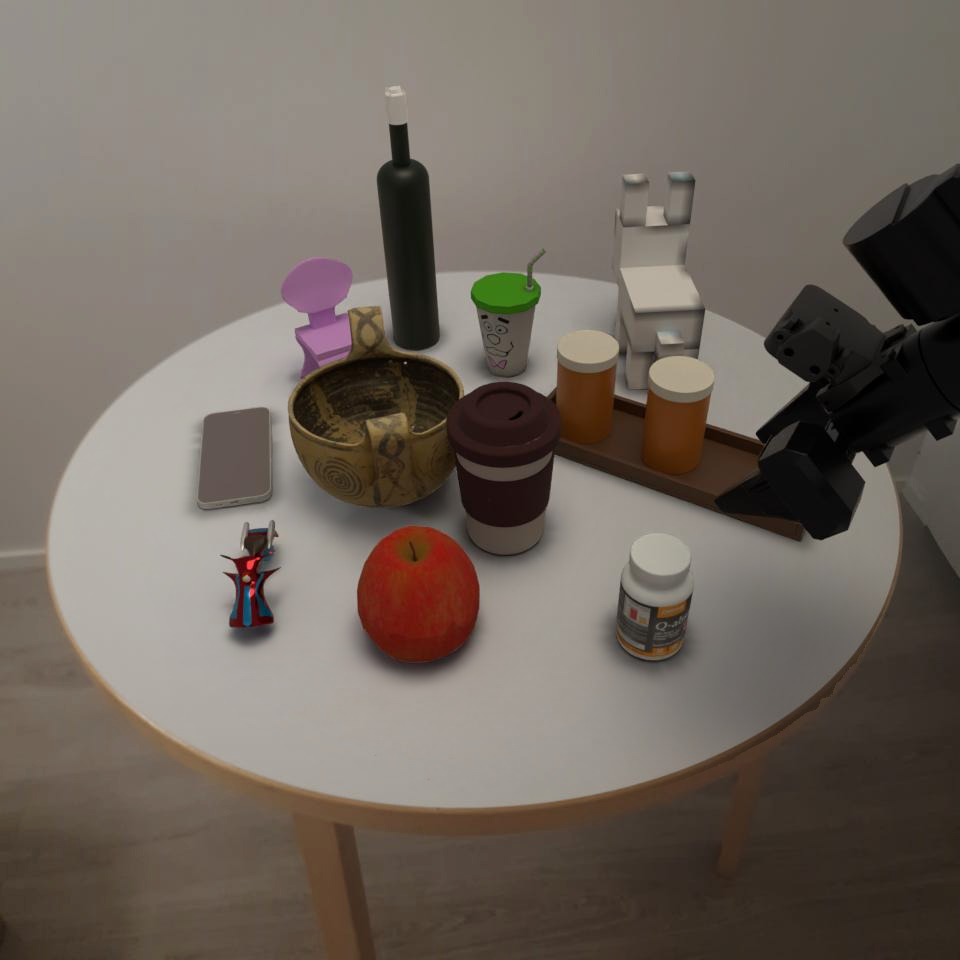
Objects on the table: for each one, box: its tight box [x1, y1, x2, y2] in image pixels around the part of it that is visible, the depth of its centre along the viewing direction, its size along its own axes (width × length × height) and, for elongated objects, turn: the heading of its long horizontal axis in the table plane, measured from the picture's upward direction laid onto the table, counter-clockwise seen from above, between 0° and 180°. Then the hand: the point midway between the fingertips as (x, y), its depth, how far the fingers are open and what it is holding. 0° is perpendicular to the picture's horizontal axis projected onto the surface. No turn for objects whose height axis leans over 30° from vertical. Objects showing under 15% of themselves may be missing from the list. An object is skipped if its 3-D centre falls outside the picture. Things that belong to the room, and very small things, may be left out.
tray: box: [546, 386, 807, 542], centre depth 93 cm, size 30×10×2 cm, turn 58°
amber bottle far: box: [556, 329, 620, 444], centre depth 95 cm, size 6×6×10 cm
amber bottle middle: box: [641, 356, 716, 474], centre depth 90 cm, size 6×6×10 cm
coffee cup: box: [446, 381, 561, 556], centre depth 82 cm, size 10×10×15 cm
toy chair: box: [280, 256, 354, 378], centre depth 101 cm, size 8×9×15 cm
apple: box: [356, 524, 481, 664], centre depth 75 cm, size 10×10×10 cm
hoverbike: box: [219, 519, 282, 629], centre depth 80 cm, size 5×12×6 cm, turn 5°
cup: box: [470, 248, 546, 378], centre depth 103 cm, size 8×8×15 cm
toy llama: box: [611, 170, 706, 391], centre depth 102 cm, size 8×18×20 cm, turn 3°
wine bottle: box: [376, 84, 441, 351], centre depth 103 cm, size 6×6×30 cm
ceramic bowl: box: [287, 305, 465, 509], centre depth 88 cm, size 22×17×15 cm
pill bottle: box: [615, 532, 695, 661], centre depth 74 cm, size 6×6×10 cm
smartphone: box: [196, 406, 273, 510], centre depth 96 cm, size 7×1×15 cm
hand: (739, 470), depth 65 cm, fingers open, 9 cm apart
